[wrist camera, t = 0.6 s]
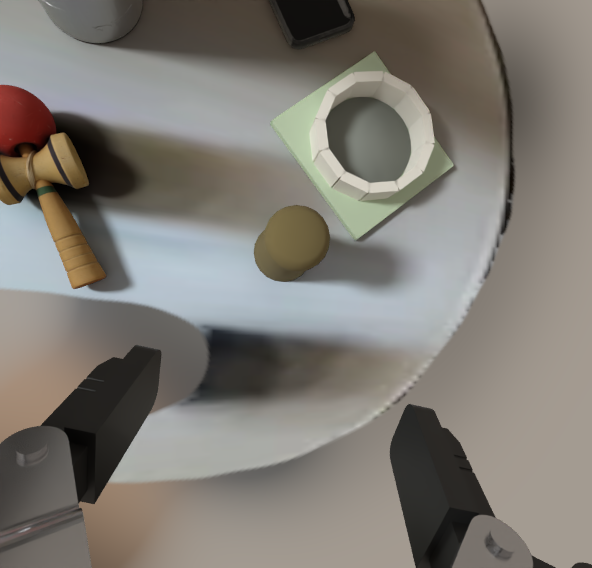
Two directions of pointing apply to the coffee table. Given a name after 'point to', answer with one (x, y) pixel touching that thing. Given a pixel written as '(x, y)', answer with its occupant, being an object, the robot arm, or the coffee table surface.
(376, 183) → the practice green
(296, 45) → the phone
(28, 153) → the kendama
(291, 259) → the cork
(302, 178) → the coffee table surface
